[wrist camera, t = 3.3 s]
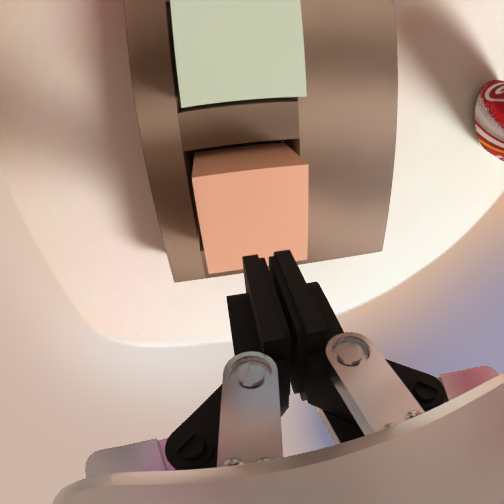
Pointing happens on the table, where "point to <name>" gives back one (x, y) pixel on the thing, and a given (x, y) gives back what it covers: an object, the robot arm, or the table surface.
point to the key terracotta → (251, 203)
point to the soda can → (491, 118)
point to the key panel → (279, 127)
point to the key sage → (238, 50)
